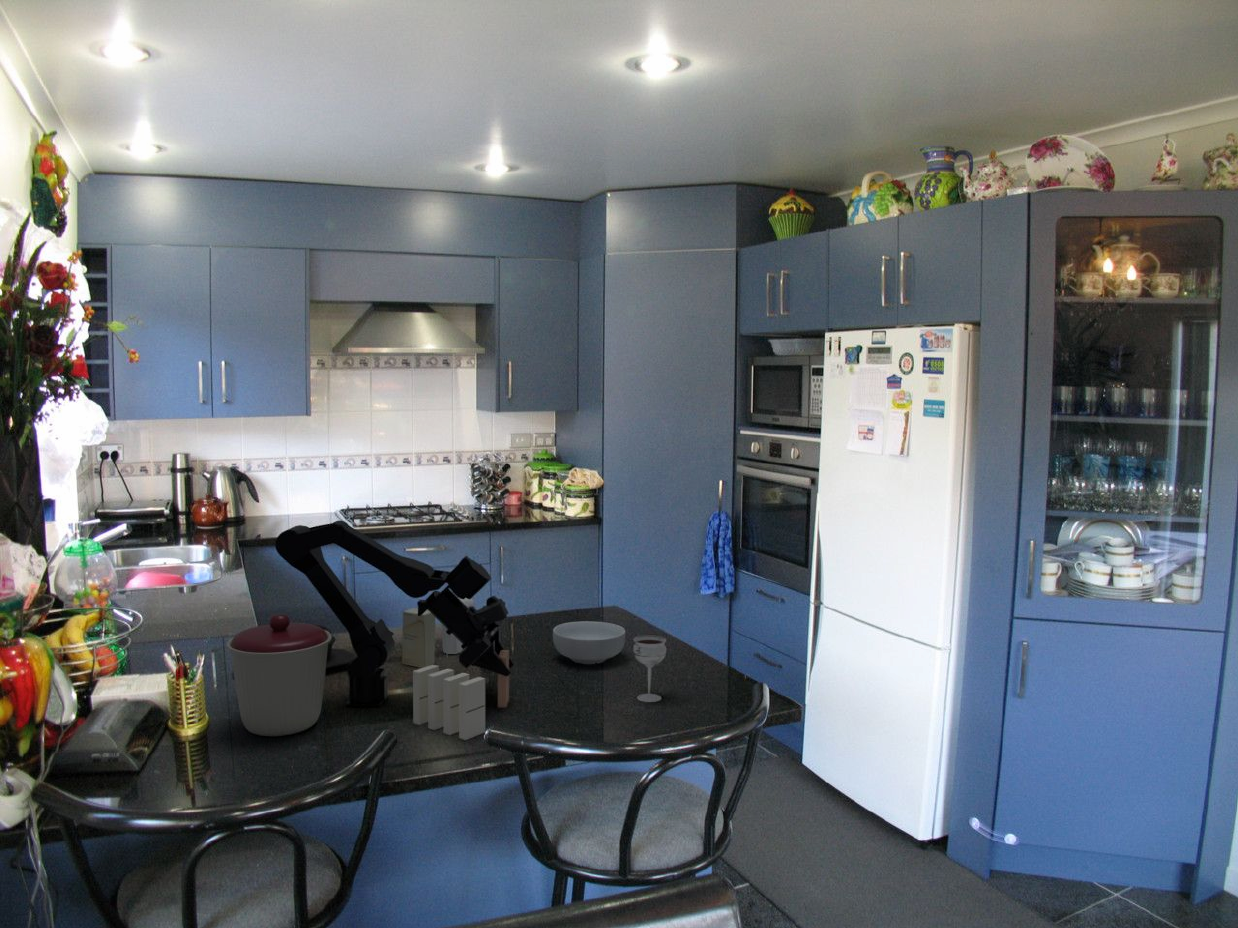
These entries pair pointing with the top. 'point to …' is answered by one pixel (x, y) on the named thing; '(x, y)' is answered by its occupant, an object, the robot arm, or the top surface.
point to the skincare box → (418, 638)
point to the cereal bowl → (589, 641)
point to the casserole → (336, 653)
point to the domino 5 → (503, 681)
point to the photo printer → (450, 641)
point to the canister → (279, 675)
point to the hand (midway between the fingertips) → (510, 670)
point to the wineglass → (649, 658)
